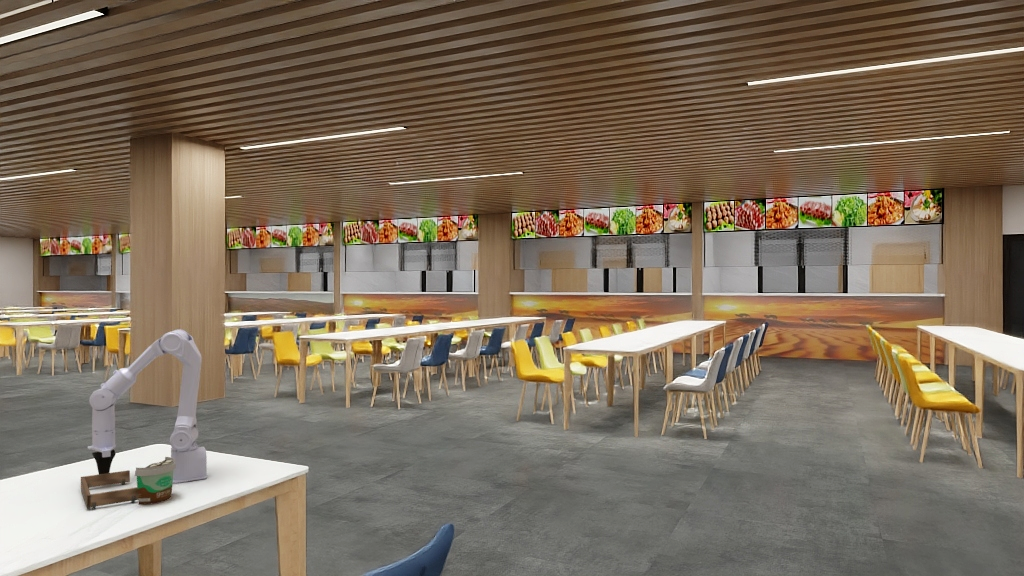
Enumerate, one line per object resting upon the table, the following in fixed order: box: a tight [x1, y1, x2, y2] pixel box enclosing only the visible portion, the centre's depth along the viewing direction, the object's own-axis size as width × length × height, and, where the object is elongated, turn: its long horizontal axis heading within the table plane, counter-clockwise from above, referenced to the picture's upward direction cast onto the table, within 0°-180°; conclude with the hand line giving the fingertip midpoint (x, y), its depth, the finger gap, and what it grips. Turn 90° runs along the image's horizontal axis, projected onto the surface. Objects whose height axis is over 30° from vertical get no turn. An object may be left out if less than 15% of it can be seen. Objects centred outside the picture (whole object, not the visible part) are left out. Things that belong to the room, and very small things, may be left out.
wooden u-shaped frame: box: [80, 469, 138, 510], centre depth 192 cm, size 12×21×4 cm, turn 36°
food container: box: [134, 456, 176, 506], centre depth 189 cm, size 12×6×10 cm, turn 168°
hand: (103, 476), depth 203 cm, fingers closed
